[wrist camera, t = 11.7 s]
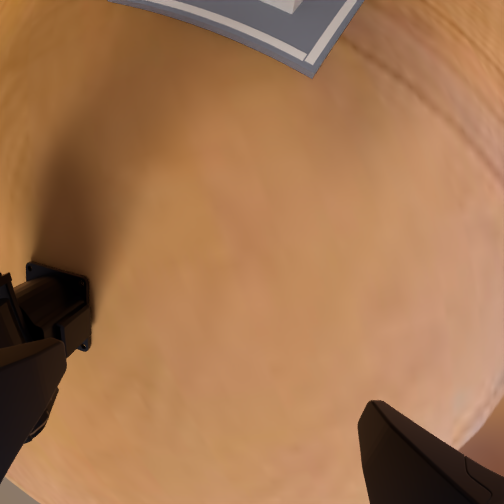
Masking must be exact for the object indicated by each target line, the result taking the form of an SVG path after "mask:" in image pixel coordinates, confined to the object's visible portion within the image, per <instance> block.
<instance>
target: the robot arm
mask: <svg viewBox="0 0 504 504" xmlns="http://www.w3.org/2000/svg"><path fill="white" fill-rule="evenodd" d="M31 267H32V269H31ZM11 281H12V278H11V275H10V272H9V273H6V274H3V275H2V274H1V272H0V484H1V482H2V480H3V478H4V476H5V475H6V473H7V471H8V469H9V468H10V466H11V464H12V462H13V461H14V459H15V457H16V456H17V454H18V452H19V451H20V449H21V447H22V446H23V444H25V443H28V442H30V441H32V439H33V438H34V437H36V436H37V435H38V434H39V433H40V432H41V431H42V430H43V428H44V427H45V425H46V423H47V420H48V418H49V415H50V412H51V409H52V406H53V404H54V401H55V399H56V396H57V394H58V391H59V389H58V385H59V383H60V381H61V379H62V377H63V375H64V373H65V371H66V368H67V362H66V358H68V357H69V356H70V355H71V354H72V353H73V352H74V351H75V350H76V349H78V350H81V351H84V352H86V351H88V350H89V349H90V335H91V314H90V306H89V281H88V279H87V278H86V277H85V276H82V275H78V274H75V273H71V272H67V271H64V270H60V269H57V268H53V267H50V266H46V265H43V264H39V263H36V262H33V261H31V262H28V263H27V264H26V282H24V283H22V284H20V285H18V286H16V287H14V288H13V286H12V283H11ZM81 281H83V283H84V285H82V283H81ZM83 344H84V345H85V346H86V347H85V346H84V345H83ZM358 435H359V443H360V452H361V461H362V469H363V474H364V478H365V483H366V487H367V492H368V496H369V501H370V504H504V477H503V476H501V475H499V474H497V473H495V472H493V471H491V470H489V469H487V468H485V467H483V466H481V465H480V464H478V463H477V462H475V461H473V460H471V459H470V458H468V457H467V456H465V457H464V454H462V453H460V452H459V451H457V450H456V449H454V448H453V447H451V446H449V445H448V444H446V443H445V442H443V441H442V440H440V439H439V438H437V437H436V436H434V435H433V434H431V433H429V432H428V431H426V430H425V429H423V428H422V427H420V426H419V425H417V424H416V423H415V422H413V421H412V420H410V419H409V418H407V417H406V416H404V415H403V414H401V413H400V412H398V411H397V410H395V409H394V408H393V407H391V406H390V405H388V404H387V403H385V402H384V401H381V400H371V401H369V402H368V403H367V405H366V407H365V409H364V411H363V413H362V415H361V417H360V419H359V422H358Z"/></svg>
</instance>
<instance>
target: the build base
mask: <svg viewBox="0 0 504 504" xmlns="http://www.w3.org/2000/svg"><path fill="white" fill-rule="evenodd" d="M108 1H109V2H114V3H119V4H123V5H128V6H132V7H136V8H140V9H144V10H148V11H152V12H155V13H159V14H162V15H166V16H169V17H172V18H175V19H178V20H181V21H185V22H188V23H190V24H193V25H196V26H199V27H202V28H204V29H207V30H210V31H212V32H215V33H218V34H220V35H223V36H225V37H228V38H230V39H232V40H235V41H237V42H239V43H242V44H244V45H246V46H248V47H251V48H253V49H255V50H257V51H259V52H261V53H264V54H266V55H268V56H270V57H272V58H274V59H276V60H278V61H280V62H282V63H284V64H286V65H288V66H289V67H291V68H293V69H295V70H297V71H299V72H301V73H302V74H304V75H306V76H308V77H310V78H311V79H312V78H313V77H314V75H315V74H316V72H317V70H318V69H319V67H320V66H321V64H322V63H323V61H324V60H325V58H326V57H327V55H328V54H329V52H330V51H331V49H332V48H333V46H334V45H335V43H336V42H337V40H338V39H339V37H340V36H341V34H342V33H343V31H344V30H345V28H346V27H347V25H348V24H349V22H350V21H351V19H352V18H353V16H354V15H355V13H356V12H357V11H358V9H359V8H360V6H361V5H362V3H363V2H364V0H108Z"/></svg>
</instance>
